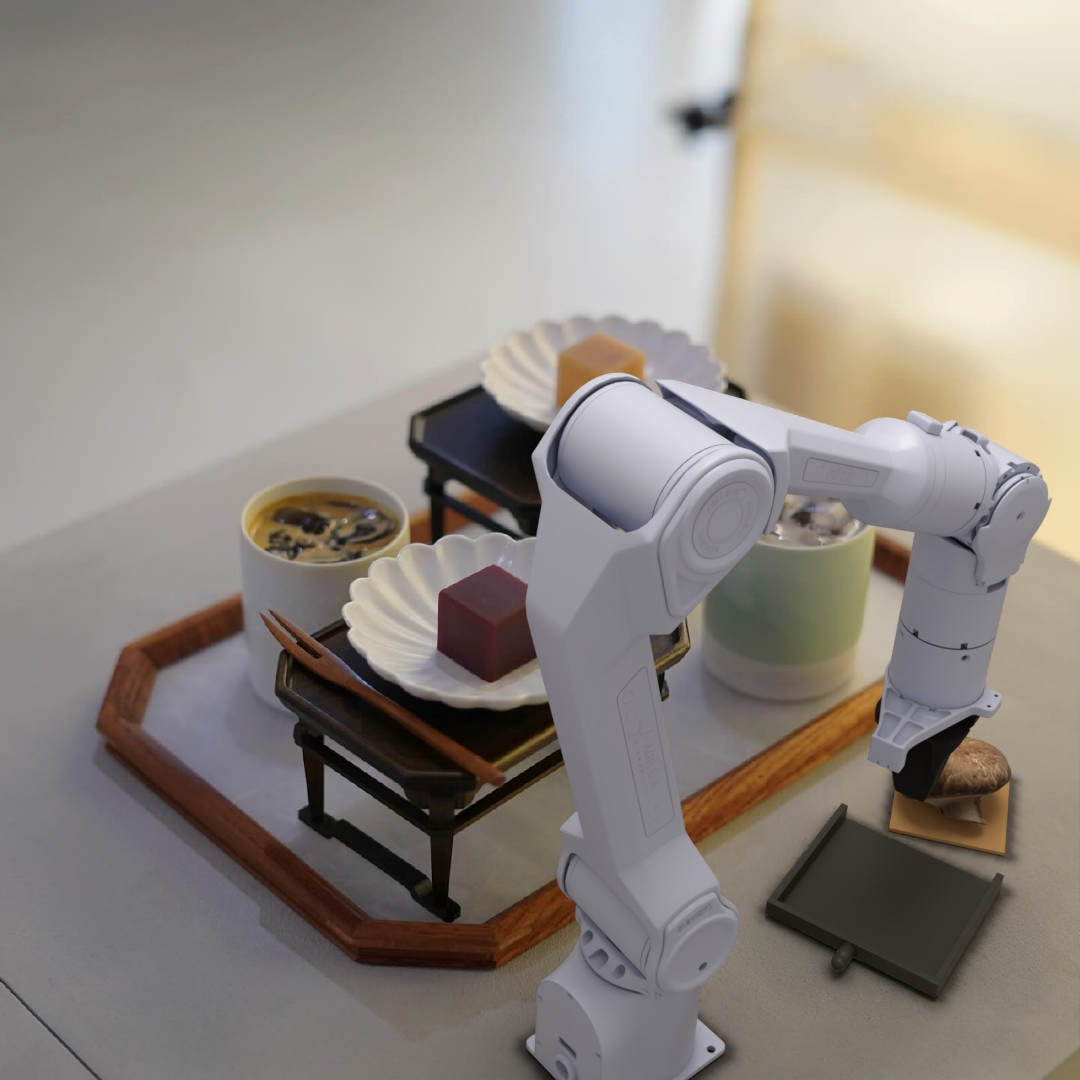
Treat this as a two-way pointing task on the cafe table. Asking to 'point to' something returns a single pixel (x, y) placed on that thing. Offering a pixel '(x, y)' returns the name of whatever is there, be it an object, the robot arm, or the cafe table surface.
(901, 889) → the pan
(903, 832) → the mat
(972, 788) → the mushroom
